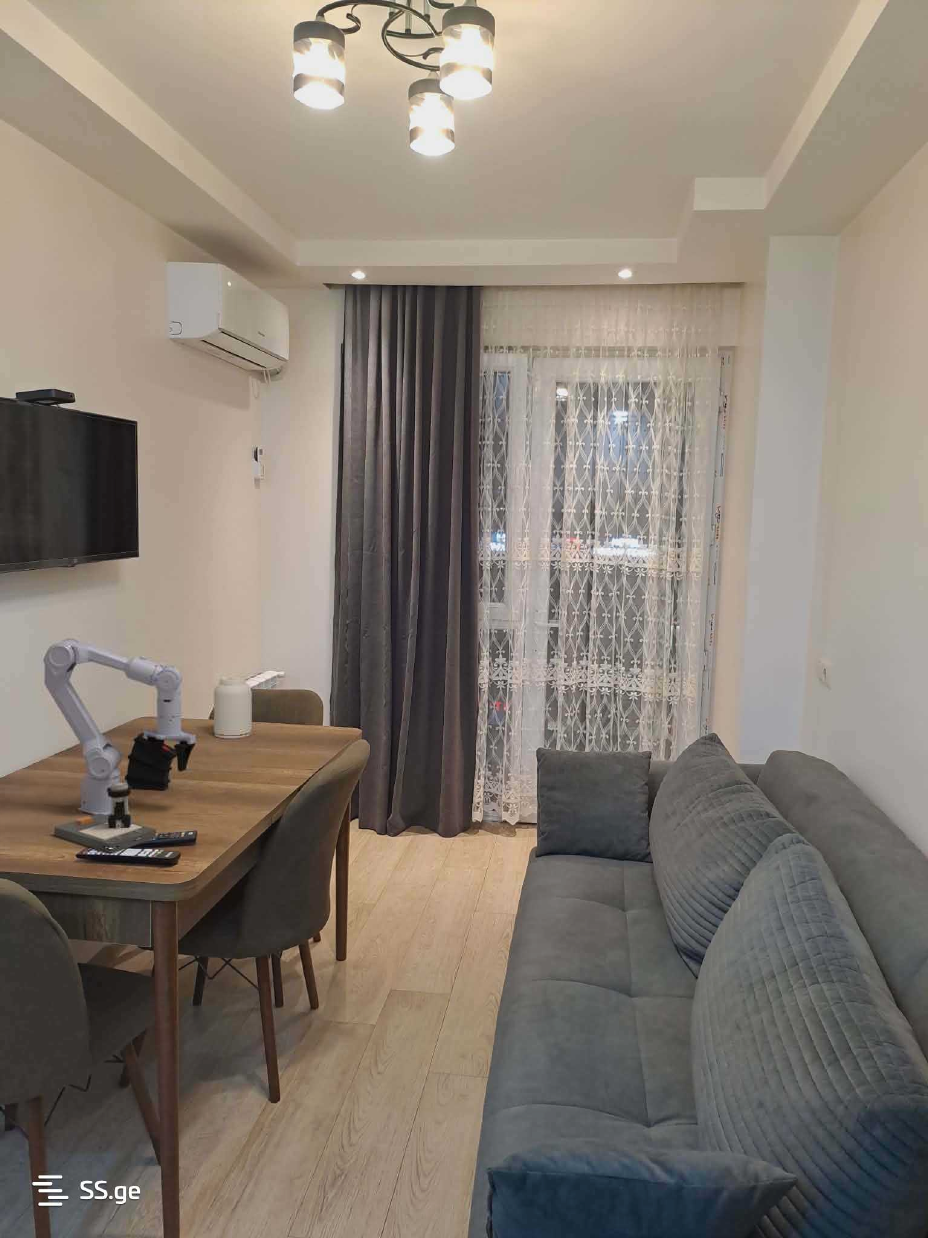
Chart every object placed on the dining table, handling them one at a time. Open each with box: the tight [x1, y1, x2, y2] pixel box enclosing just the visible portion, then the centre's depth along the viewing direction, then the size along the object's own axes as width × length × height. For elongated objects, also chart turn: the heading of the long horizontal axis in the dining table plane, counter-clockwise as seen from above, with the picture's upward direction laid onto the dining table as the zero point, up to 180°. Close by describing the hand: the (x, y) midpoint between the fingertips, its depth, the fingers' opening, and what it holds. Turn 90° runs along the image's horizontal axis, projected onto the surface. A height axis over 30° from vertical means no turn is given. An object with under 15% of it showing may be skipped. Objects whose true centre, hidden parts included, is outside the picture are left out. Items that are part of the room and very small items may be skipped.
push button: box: [101, 781, 133, 828], centre depth 203 cm, size 7×5×10 cm
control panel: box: [53, 813, 157, 854], centre depth 203 cm, size 20×12×3 cm, turn 59°
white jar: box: [213, 675, 253, 740], centre depth 303 cm, size 12×12×20 cm
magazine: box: [124, 732, 177, 791], centre depth 240 cm, size 4×13×15 cm, turn 84°
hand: (169, 768), depth 223 cm, fingers open, 7 cm apart
